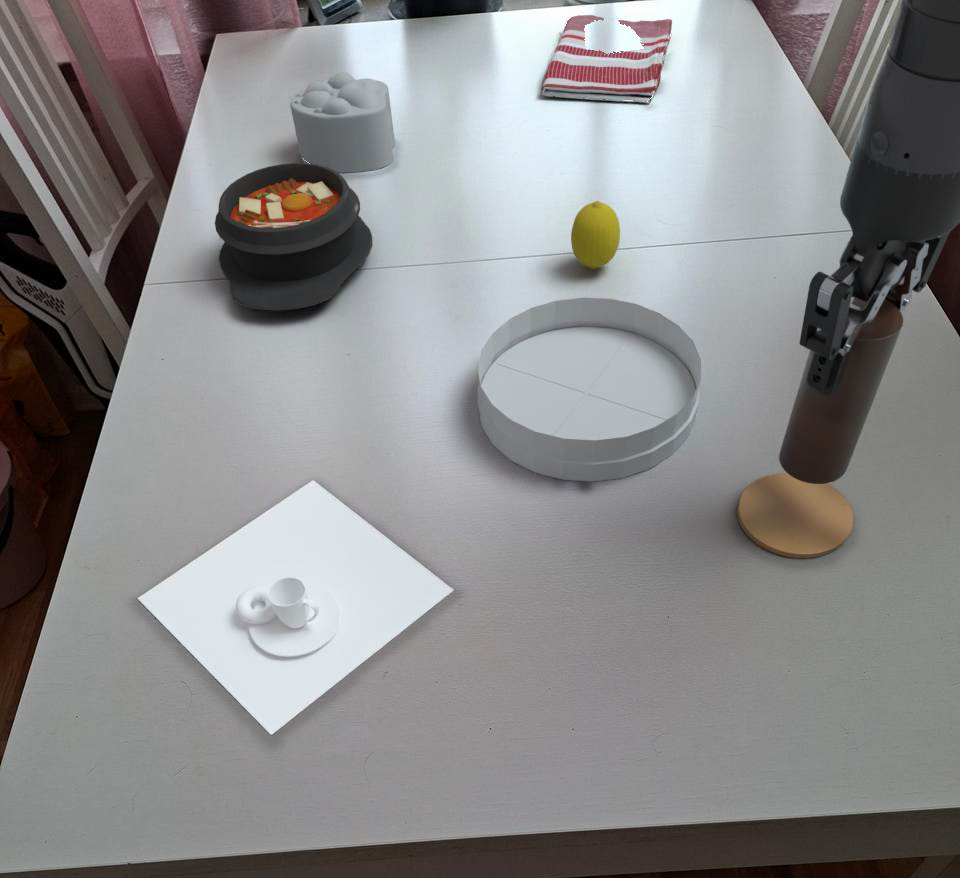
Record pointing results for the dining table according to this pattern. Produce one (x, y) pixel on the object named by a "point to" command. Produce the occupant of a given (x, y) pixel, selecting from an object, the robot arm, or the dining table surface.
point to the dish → (588, 388)
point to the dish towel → (607, 64)
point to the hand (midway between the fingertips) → (845, 367)
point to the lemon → (595, 234)
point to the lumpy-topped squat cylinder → (344, 124)
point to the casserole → (290, 236)
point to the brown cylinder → (839, 403)
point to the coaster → (795, 516)
